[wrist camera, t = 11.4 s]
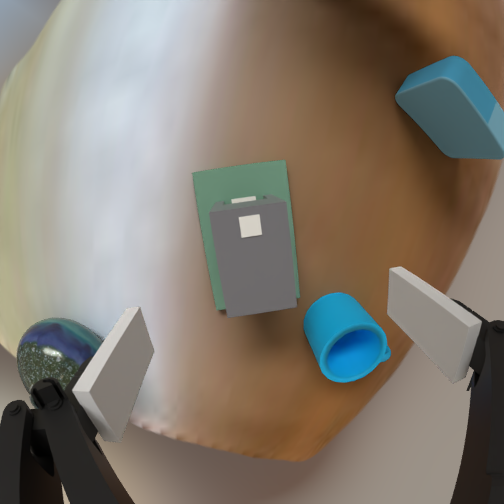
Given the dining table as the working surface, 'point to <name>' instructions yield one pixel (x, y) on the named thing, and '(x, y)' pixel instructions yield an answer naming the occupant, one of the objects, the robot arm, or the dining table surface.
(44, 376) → the vase
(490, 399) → the robot arm
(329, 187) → the dining table surface
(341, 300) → the mug
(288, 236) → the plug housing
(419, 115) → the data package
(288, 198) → the header board
